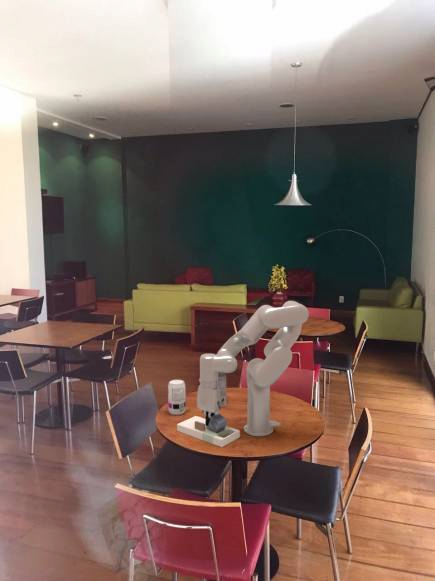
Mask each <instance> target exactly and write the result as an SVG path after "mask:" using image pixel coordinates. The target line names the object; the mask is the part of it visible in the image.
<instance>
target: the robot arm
mask: <svg viewBox="0 0 435 581" xmlns="http://www.w3.org/2000/svg"><path fill="white" fill-rule="evenodd" d="M309 315H310V314H309V310H308V308H307V307H306V306H305V305H303V304H302V303H299V302H297V301H295V300H288V301H286V302H284V304H283V305H282V306H279V307H274V306H272V305H269V304H263V305H261V306H260V307H259V308H258V309H256V311H255V312H254V313H253V314H252V315H251V317H250V318H249V320H247V322H245V324H244V325H243V326H242V328H241V329H240V330H239V331H237V332H236V333H234V334H233V335H232V336H231V337H229V339H228V340H227V341H225V343H224V344H223V345H222V346H221V347H220V349H219V350H218V351H217V353H216V354H215V353H203V354H201V355H200V358H199V379H198V382H199V383H200V384H199V385H198V389H197V394H196V395H197V396H196V407H197V408H198V409H199V410H200V411H202V413H203V415H204V419H205V421H206V426H209V422H210V418H211V417H212V416H214V415H218V414H221V411H220V410H221V408H222V406H221V398H220V390H219V387H218V372H222V373H224V374H231V373H233V372H235V371H236V369H237V367H238V360H237V359H236V357H237V355H238V354H239V353H240V352H241V351H242V350H243V349H245V348H246V347H249V346H252V345H255V344H257V343H258V341H259V340H260V339H261V338H262V337H263V335H264V334H265V333H266V332H267V331H268V330H269V329H272V330H273V329H278V330H277V332H276V333H275V335H274V336H273V337H272V338H271V339H270V340H269V341H268V342H267V343H266V345H265V347H264V348H263V353H264V355H265V356H264V357H265V359H262V358H258V357H256V358H253V359H251V360H250V361H249V362H248V363H247V366H246V370H245V371H246V375H245V376H246V382H247V384H246V385H247V387H246V388H247V423H246V424H245V425H244V426H243V431H244V433H245V434H247V435H250V436H251V437H266V436H269V435H271V434H272V433H273V432H274V428H279V427H281V424H282V423H281V422H280V421H277V420H271V419H270V418H271V416H270V415H271V411H270V408H271V406H270V405H271V397H270V396H271V389H270V387H271V386H273V384H275V382H277V380H279V378H280V377H282V375H283V373H285V371H286V370H287V369H288V367H289V366H290V365H291V363H292V359H293V353H292V350H291V348H292V347H293V346H294V344H296V342H297V340H298V339H299V336H300V334H301V332H302V326H303V324H305V323H306V322H307V321H308V319H309Z"/></svg>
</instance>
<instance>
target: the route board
mask: <svg viewBox="0 0 435 581" xmlns="http://www.w3.org/2000/svg"><path fill="white" fill-rule="evenodd" d="M176 431H177V432H180V433H181V434H184V435H187V436H190V437H193V438H196V439H198V440H201V441H204V442H206V443H209V444H212V445H214V446H217V447H220V448H223V447H225V446H227V445H229V444H230V443H232V442H234V441H236V440H237V439H239V438H240V437H241V430H240V429H237V428H234V427H231V426H228V425H226V427H225V430H223V431H221V432H219V433H217V434H216V433H215V432H214V431H213V430H212V429H210V428H209V427H208V426H206V421H205V417H204V418H203V417H201V416H197V415H194V416H193V417H190V418H188V419H186V420H184V421H181V422H179V423H177V424H176Z"/></svg>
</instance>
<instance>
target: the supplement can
mask: <svg viewBox="0 0 435 581" xmlns="http://www.w3.org/2000/svg"><path fill="white" fill-rule="evenodd" d="M186 394H187V393H186V383H185V381H184V380H182V379H172V380H169V382H168V384H167V397H168V398H167V400H168V401H167V402H168V403H167V404H168V405H167V406H168V407H167V408H168V413H169V414H170V415H172V416H173V415H175V416H179V415H183V414H185V412H186V411H187V404H186V401H187V400H186V399H187V398H186Z"/></svg>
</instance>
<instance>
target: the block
mask: <svg viewBox="0 0 435 581" xmlns="http://www.w3.org/2000/svg"><path fill="white" fill-rule="evenodd" d="M227 423H228V419H226V417H224V416H223V414H221V413H220V414H218V415H214V416H212V417H211V418H210V422H209V426H208V427H209V428H210V429H212V430H213V431H214V432H215V433H216V434H217V433H219V432H221V431H223V430H225V427H226V426H227Z"/></svg>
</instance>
